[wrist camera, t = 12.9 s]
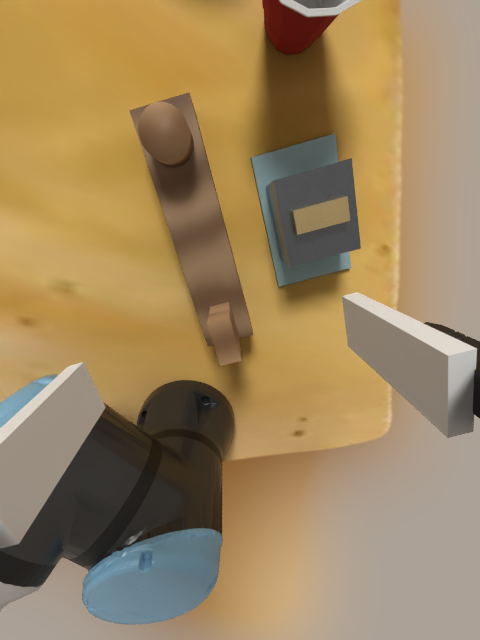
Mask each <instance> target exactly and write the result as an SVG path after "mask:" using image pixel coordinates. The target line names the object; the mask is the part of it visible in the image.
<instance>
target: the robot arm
mask: <svg viewBox="0 0 480 640" xmlns="http://www.w3.org/2000/svg"><path fill="white" fill-rule="evenodd" d="M342 300H343V308H344V316H345V324H346V332H347V340H348V346H349V347H350V348H351V349H352V350H353V351H354V352H355V353H356V354H357V355H358V356H359V357H361V358H362V359H363V360H364V361H365V362H366V363H367V364H368V365H369V366H370V367H371V368H373V369H374V370H375V371H376V372H377V373H378V374H379V375H380V376H381V377H382V378H383V379H384V380H386V381H387V382H388V383H389V384H390V385H391V386H392V387H393V388H394V389H396V391H397V392H399V393H400V394H401V395H402V396H403V397H404V398H405V399H406V400H407V401H408V402H409V403H410V404H412V405H413V406H414V407H415V408H416V409H417V410H418V411H419V412H420V413H421V414H422V415H424V416H425V417H426V418H427V419H428V420H429V421H430V422H431V423H432V424H433V425H434V426H436V427H437V428H438V429H439V430H440V431H441V432H442V433H443V434H444V435H445V436H446V437H448V438H449V437H453V436H457V435H461V434H465V433H469V432H473V425H474V424H473V423H474V414H475V415H476V416H477V417H479V418H480V342H479V341H477V340H475V339H472V338H470V337H468V336H467V337H466V336H465V335H464V334H461V333H459V332H455V331H454V330H452V329H450V328H448V327H445V326H442V325H438V324H433V323H429V322H426V323H422V322H419V321H417V320H415V319H413V318H411V317H409V316H407V315H405V314H402V313H400V312H398V311H396V310H394V309H392V308H390V307H387V306H385V305H383V304H381V303H379V302H377V301H375V300H373V299H370V298H368V297H366V296H364V295H362V294H360V293H358V292H356V293H353V294H349V295H345V296H342ZM233 433H234V414H233V410H232V407H231V405H230V403H229V401H228V400H227V399H226V397H225V396H224V395H223V394H222V393H221V392H219V391H218V390H217V389H215V388H213V387H212V386H209V385H207V384H205V383H201V382H197V381H189V380H182V381H175V382H171V383H168V384H165V385H163V386H161V387H159V388H157V389H156V390H155V391H153V392H152V393H151V394H150V395H149V396H148V398H147V399H146V400H145V402H144V404H143V406H142V409H141V411H140V413H139V416H138V420H137V426H136V425H134V424H133V423H132V422H130V421H129V420H127V419H126V418H124V417H123V416H122V415H120V414H119V413H117V412H116V411H115V410H113V409H112V408H111V407H109V406H108V405H106V404H105V403H104V402H103V401H102V399H101V397H100V395H99V393H98V391H97V388H96V386H95V384H94V382H93V380H92V378H91V376H90V374H89V372H88V370H87V368H86V366H85V364H84V362H82V363H78V364H74V365H70V366H68V367H67V368H66V369H65V370H64V371H63V372H61V373H60V374H59V375H47V376H44V377H41V378H39V379H37V380H35V381H33V382H31V383H29V384H28V385H26V386H25V387H23V388H21V389H20V390H18V391H17V392H15V393H14V394H12V395H11V396H9V397H8V398H6V399H5V400H3V401H2V402H0V611H1V610H2V608H3V607H5V606H6V605H8V604H9V603H11V602H13V601H15V600H17V599H19V598H22V597H23V596H26V595H28V594H30V593H32V592H34V591H37V590H38V589H39V588H40V587H41V586H42V585H43V583H44V582H45V581H46V579H47V578H48V576H49V575H50V573H51V572H52V570H53V569H54V567H55V566H56V564H57V563H58V562H59V560H60V559H61V558H62V557H63V558H66V559H69V560H70V561H72V562H74V563H76V564H78V565H81V566H82V567H84V568H86V569H88V571H89V572H88V574H87V575H86V576H85V579H84V582H83V593H82V600H83V603H84V605H85V606H86V608H87V609H88V611H89V612H90V613H91V614H92V615H94V616H95V617H97V618H100V619H102V620H105V621H109V622H113V623H119V624H149V623H155V622H161V621H165V620H169V619H172V618H175V617H177V616H180V615H183V614H185V613H187V612H189V611H190V610H192V609H194V608H195V607H197V606H198V605H199V604H201V603H202V602H203V601H204V600H205V599H206V598H207V597H208V596H209V594H210V593H211V592H212V590H213V588H214V586H215V584H216V581H217V577H218V572H219V561H220V548H221V546H222V462H223V460H224V457H225V455H226V452H227V450H228V448H229V445H230V443H231V441H232V438H233Z"/></svg>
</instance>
